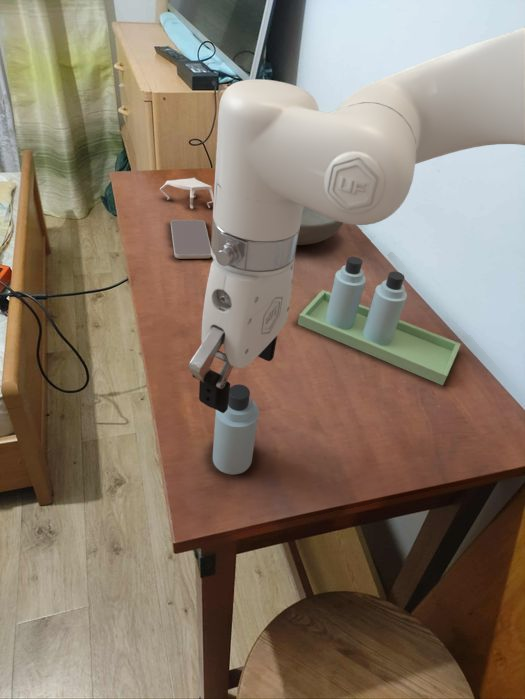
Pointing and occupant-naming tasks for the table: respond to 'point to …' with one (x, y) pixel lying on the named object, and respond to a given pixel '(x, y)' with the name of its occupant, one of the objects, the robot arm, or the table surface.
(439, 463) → the table surface
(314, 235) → the bowl
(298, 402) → the table surface
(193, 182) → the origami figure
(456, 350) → the tray
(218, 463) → the loose bottle
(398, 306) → the row bottle middle
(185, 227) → the smartphone
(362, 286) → the row bottle back
